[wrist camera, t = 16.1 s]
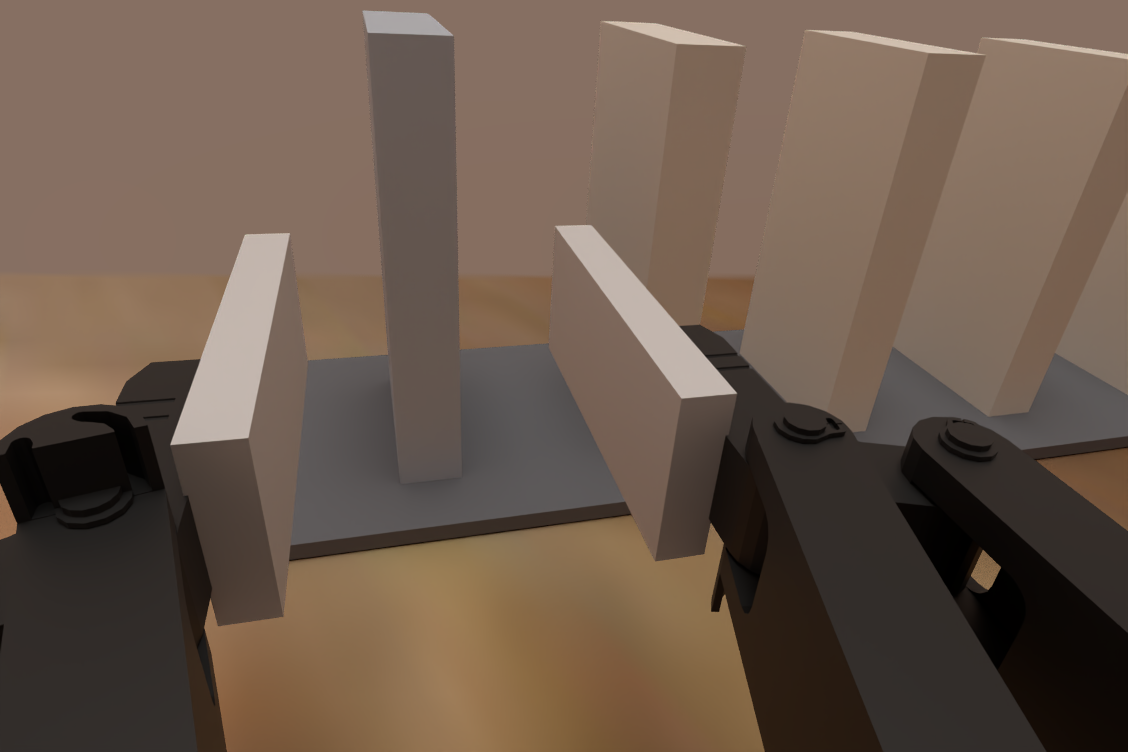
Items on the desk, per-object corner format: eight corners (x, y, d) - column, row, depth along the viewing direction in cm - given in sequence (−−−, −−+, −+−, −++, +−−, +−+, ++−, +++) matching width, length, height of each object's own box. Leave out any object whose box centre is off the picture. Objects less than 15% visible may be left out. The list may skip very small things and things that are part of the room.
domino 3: (920, 338, 32) (1022, 39, 26) (1028, 412, 27) (1185, 62, 21) (885, 341, 31) (981, 37, 25) (988, 416, 26) (1137, 60, 20)
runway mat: (1061, 315, 36) (1065, 306, 36) (1275, 426, 28) (1282, 416, 28) (246, 377, 27) (244, 365, 27) (202, 571, 18) (198, 557, 18)
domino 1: (619, 362, 28) (656, 23, 22) (678, 452, 23) (746, 46, 17) (575, 366, 28) (601, 21, 22) (625, 458, 23) (677, 43, 17)
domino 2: (778, 350, 30) (852, 31, 24) (865, 430, 25) (986, 55, 19) (739, 353, 30) (805, 29, 24) (819, 436, 25) (928, 53, 19)
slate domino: (440, 377, 27) (427, 13, 21) (461, 477, 22) (453, 35, 16) (390, 381, 26) (362, 10, 20) (400, 484, 21) (367, 32, 15)
